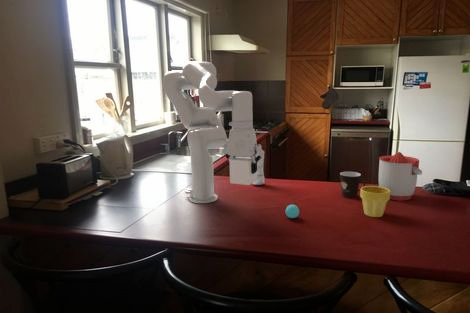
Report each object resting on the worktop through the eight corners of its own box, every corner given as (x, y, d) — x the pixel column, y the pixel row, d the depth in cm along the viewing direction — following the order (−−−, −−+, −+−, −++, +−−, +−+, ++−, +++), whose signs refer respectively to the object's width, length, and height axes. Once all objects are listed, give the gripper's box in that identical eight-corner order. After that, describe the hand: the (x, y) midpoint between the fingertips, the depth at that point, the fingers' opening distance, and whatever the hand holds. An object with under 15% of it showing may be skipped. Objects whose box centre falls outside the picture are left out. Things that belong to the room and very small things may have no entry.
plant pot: (387, 210, 139) (389, 186, 137) (389, 220, 129) (391, 194, 127) (359, 208, 142) (360, 184, 140) (359, 217, 133) (360, 192, 131)
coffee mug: (336, 193, 162) (337, 172, 160) (354, 192, 163) (355, 171, 161) (346, 201, 151) (347, 178, 149) (366, 200, 151) (367, 177, 149)
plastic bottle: (263, 186, 175) (263, 146, 172) (250, 186, 177) (249, 146, 173) (265, 183, 182) (265, 144, 178) (252, 182, 183) (251, 144, 179)
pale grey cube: (230, 183, 133) (229, 159, 132) (238, 178, 140) (238, 156, 138) (249, 185, 130) (248, 161, 128) (256, 179, 137) (256, 157, 135)
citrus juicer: (410, 206, 143) (414, 157, 140) (370, 197, 156) (372, 151, 152) (426, 197, 153) (430, 152, 150) (387, 189, 166) (389, 147, 162)
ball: (283, 219, 132) (284, 206, 131) (287, 214, 137) (287, 202, 136) (297, 220, 130) (297, 207, 130) (300, 216, 135) (300, 203, 134)
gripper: (216, 126, 131) (218, 172, 134) (261, 127, 124) (261, 176, 127) (225, 124, 138) (226, 168, 141) (268, 124, 131) (268, 171, 134)
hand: (243, 171), depth 134 cm, fingers closed on pale grey cube, 7 cm apart
